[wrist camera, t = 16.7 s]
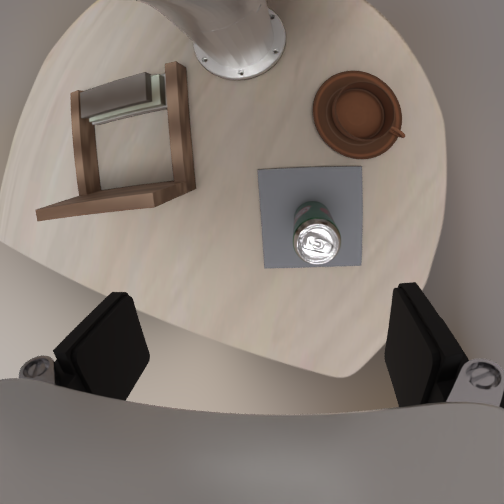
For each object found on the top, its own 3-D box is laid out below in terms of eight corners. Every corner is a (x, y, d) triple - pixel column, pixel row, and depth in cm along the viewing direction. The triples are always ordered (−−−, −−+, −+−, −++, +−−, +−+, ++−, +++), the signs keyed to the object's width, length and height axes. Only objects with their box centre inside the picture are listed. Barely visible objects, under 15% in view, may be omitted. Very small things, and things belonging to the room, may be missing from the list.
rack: (85, 95, 41) (25, 88, 28) (186, 67, 38) (141, 40, 25) (94, 200, 47) (37, 221, 33) (196, 188, 44) (154, 207, 31)
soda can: (301, 194, 41) (304, 212, 30) (336, 208, 41) (350, 231, 30) (288, 228, 43) (285, 257, 32) (321, 241, 43) (330, 275, 32)
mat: (258, 169, 42) (257, 170, 41) (360, 166, 40) (361, 166, 39) (265, 266, 46) (264, 268, 46) (360, 264, 44) (361, 265, 43)
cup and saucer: (399, 83, 35) (414, 74, 29) (393, 165, 39) (408, 168, 33) (315, 68, 36) (318, 55, 30) (308, 152, 40) (310, 152, 34)
